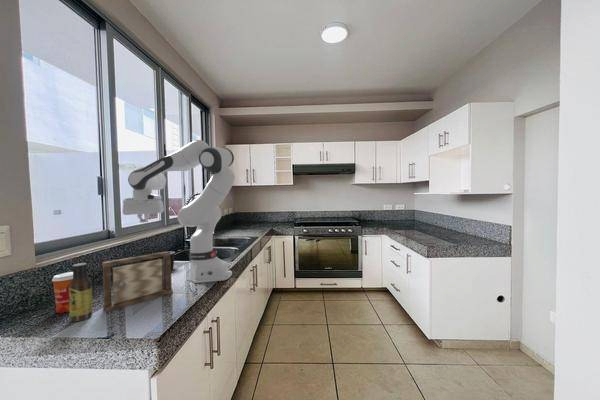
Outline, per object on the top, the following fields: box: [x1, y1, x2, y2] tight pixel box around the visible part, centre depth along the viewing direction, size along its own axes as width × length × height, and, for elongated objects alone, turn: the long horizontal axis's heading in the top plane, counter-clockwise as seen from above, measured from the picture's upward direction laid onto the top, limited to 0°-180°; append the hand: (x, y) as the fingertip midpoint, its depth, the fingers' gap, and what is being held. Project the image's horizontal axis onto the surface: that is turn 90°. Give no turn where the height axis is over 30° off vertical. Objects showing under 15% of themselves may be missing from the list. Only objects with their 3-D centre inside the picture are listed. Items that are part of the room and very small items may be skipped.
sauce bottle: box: [69, 262, 93, 322], centre depth 89 cm, size 6×6×20 cm
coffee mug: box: [151, 251, 176, 271], centre depth 147 cm, size 12×9×10 cm
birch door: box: [112, 258, 165, 303], centre depth 104 cm, size 19×3×14 cm, turn 137°
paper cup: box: [51, 271, 73, 314], centre depth 96 cm, size 8×8×14 cm
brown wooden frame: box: [102, 250, 174, 313], centre depth 104 cm, size 24×6×18 cm, turn 137°
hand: (144, 222), depth 134 cm, fingers closed
